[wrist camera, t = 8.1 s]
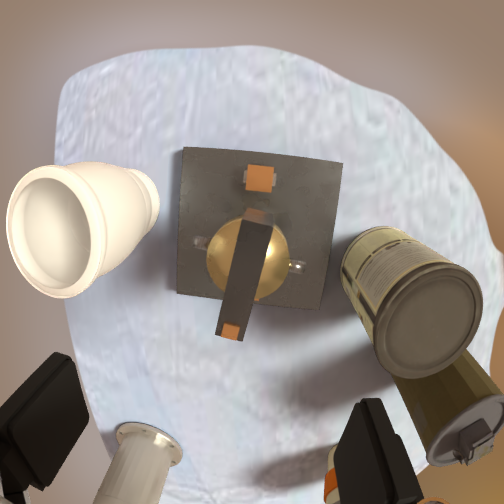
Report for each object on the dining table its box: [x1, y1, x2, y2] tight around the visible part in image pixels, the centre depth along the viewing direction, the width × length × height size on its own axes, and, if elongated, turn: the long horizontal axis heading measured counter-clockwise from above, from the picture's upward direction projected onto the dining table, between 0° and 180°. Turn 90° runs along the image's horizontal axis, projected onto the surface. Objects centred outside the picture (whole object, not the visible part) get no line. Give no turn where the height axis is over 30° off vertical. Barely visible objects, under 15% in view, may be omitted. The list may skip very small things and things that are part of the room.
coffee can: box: [340, 226, 483, 379], centre depth 27 cm, size 10×10×14 cm
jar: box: [6, 161, 160, 298], centre depth 26 cm, size 11×10×15 cm
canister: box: [391, 349, 504, 467], centre depth 27 cm, size 11×10×20 cm
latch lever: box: [192, 208, 306, 342], centre depth 21 cm, size 9×8×7 cm
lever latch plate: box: [177, 147, 343, 310], centre depth 29 cm, size 16×16×9 cm
